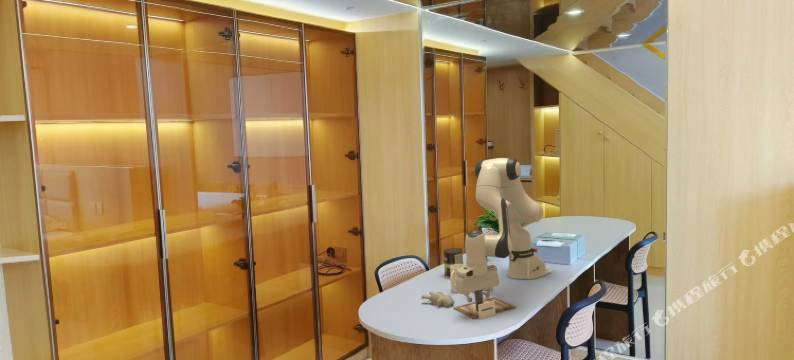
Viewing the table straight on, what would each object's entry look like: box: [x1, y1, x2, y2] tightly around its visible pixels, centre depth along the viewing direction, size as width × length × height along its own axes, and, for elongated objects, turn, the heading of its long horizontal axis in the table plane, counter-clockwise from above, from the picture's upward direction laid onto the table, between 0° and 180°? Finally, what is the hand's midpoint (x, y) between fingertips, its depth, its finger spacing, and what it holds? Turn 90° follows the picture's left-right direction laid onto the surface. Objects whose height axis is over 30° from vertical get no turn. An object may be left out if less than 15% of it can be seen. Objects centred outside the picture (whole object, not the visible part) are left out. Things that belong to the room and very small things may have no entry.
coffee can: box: [442, 247, 464, 280], centre depth 289 cm, size 10×10×14 cm
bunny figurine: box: [421, 291, 456, 308], centre depth 248 cm, size 10×5×15 cm
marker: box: [474, 290, 484, 312], centre depth 234 cm, size 3×3×12 cm
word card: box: [478, 301, 496, 320], centre depth 228 cm, size 8×1×6 cm, turn 116°
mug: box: [449, 263, 466, 293], centre depth 264 cm, size 12×8×12 cm
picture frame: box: [453, 297, 517, 320], centre depth 238 cm, size 22×16×1 cm
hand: (478, 299), depth 234 cm, fingers open, 8 cm apart
